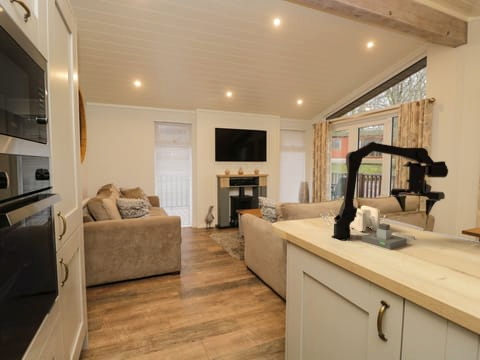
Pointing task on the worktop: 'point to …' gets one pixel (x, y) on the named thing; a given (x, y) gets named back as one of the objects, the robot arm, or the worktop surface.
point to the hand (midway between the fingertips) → (415, 213)
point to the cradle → (405, 236)
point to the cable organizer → (366, 218)
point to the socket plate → (384, 241)
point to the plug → (384, 231)
